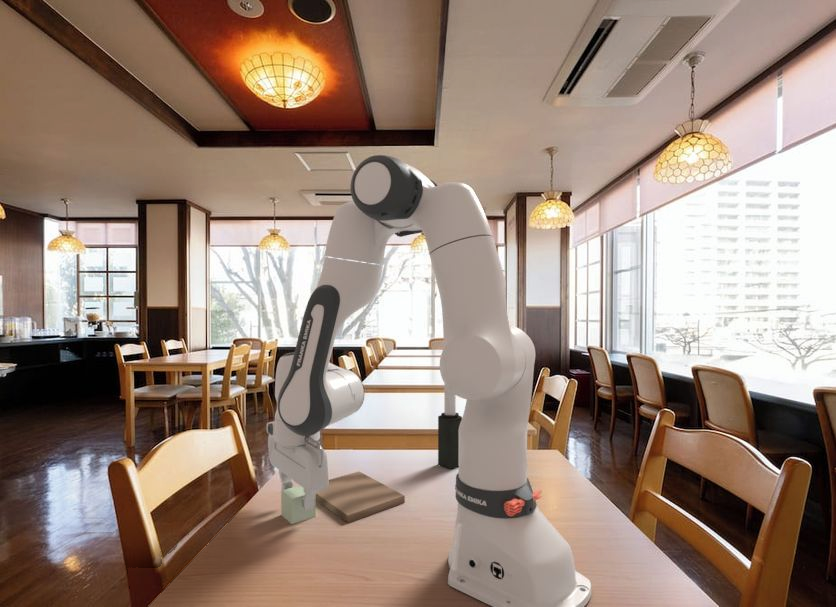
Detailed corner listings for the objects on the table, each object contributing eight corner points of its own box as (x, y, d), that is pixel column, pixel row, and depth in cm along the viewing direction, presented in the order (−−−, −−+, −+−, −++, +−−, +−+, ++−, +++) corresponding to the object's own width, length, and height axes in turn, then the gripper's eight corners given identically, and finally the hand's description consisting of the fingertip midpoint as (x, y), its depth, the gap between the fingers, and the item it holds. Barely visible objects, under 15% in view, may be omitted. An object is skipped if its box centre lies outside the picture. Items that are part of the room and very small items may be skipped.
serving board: (404, 502, 97) (404, 495, 97) (347, 523, 88) (347, 515, 88) (359, 477, 111) (359, 471, 111) (305, 492, 102) (305, 486, 102)
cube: (315, 517, 91) (315, 492, 91) (291, 524, 88) (291, 498, 88) (304, 508, 95) (304, 484, 95) (281, 515, 91) (281, 490, 91)
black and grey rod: (450, 460, 123) (450, 367, 123) (463, 465, 119) (463, 370, 119) (436, 464, 120) (436, 369, 120) (449, 470, 116) (449, 372, 116)
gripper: (337, 440, 85) (336, 514, 85) (291, 417, 101) (290, 479, 101) (306, 447, 81) (305, 524, 81) (263, 422, 97) (262, 486, 97)
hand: (296, 499), depth 91 cm, fingers open, 8 cm apart
